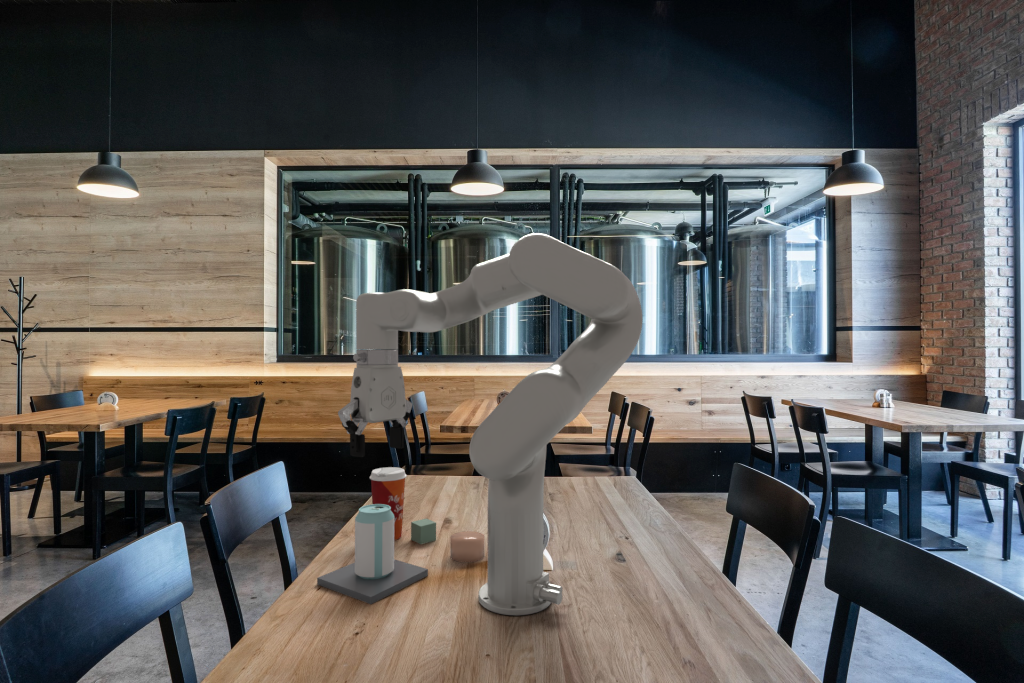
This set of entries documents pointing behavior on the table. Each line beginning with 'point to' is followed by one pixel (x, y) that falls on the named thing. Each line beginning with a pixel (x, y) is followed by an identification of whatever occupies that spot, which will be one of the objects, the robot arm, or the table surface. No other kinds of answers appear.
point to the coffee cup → (390, 493)
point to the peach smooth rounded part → (467, 546)
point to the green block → (423, 531)
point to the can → (374, 541)
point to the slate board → (371, 581)
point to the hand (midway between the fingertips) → (377, 451)
